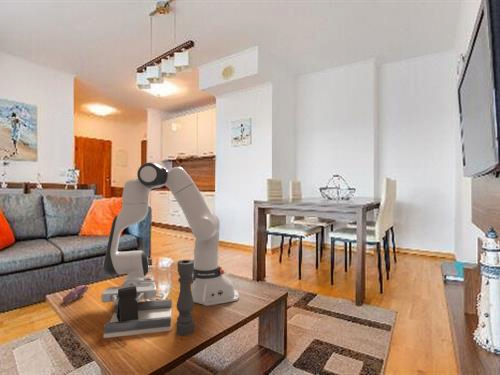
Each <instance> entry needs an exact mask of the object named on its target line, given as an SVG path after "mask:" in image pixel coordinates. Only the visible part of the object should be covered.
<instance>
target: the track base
mask: <svg viewBox="0 0 500 375" xmlns="http://www.w3.org/2000/svg"><path fill="white" fill-rule="evenodd" d="M172 309H173V308H164V309H154V310H143V311H138V320H139V319H149V318H159V317H169V316H171V317H172ZM116 315H117V313H114V312H113V314H112V317H111V319H110V320H109V322H119V321H118V319H117V317H116ZM171 328H172V325H171V326H170V327H161V328H152V329H143V330H133V331H124V332H115V333H105V334H104V333H103V339H107V338H108V339H109V338H115V337H116V338H117V337H124V336H135V335H143V334H152V333H160V332H170V331H172V329H171Z"/></svg>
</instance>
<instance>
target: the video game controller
mask: <svg viewBox="0 0 500 375" xmlns="http://www.w3.org/2000/svg"><path fill="white" fill-rule="evenodd" d="M88 290H89V286H87V285H86V284H85V285H84V284H81V285H78V286H75V287H74V288H73V289H72V290H70V291H69V292H68V293H67V294H66V295H65V296H63V298H62V302H63V303H68V302H70V301H71V300H72V301H76V300H77V299H78V298H82V297H83V296H84V294H85V293H87V291H88Z"/></svg>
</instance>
